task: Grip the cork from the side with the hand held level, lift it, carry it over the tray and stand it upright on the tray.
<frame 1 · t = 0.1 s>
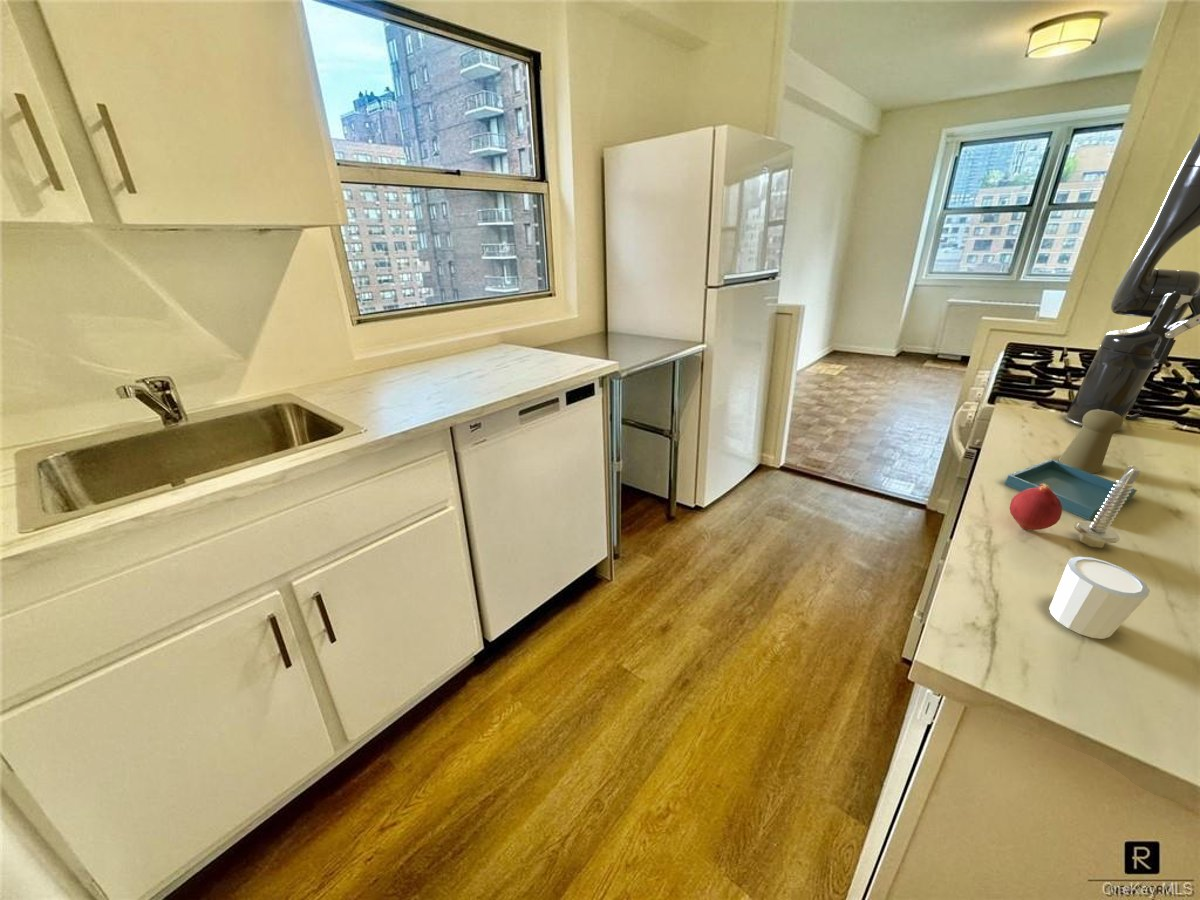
hand: (1197, 367, 74), 22 cm above the worktop, tool pointing down, fingers open, 8 cm apart
cork: (1078, 465, 93), on the worktop
onion: (1024, 530, 74), on the worktop
screw: (1089, 543, 71), on the worktop
tray: (1066, 491, 84), on the worktop
white faceted cylinder: (1078, 621, 58), on the worktop
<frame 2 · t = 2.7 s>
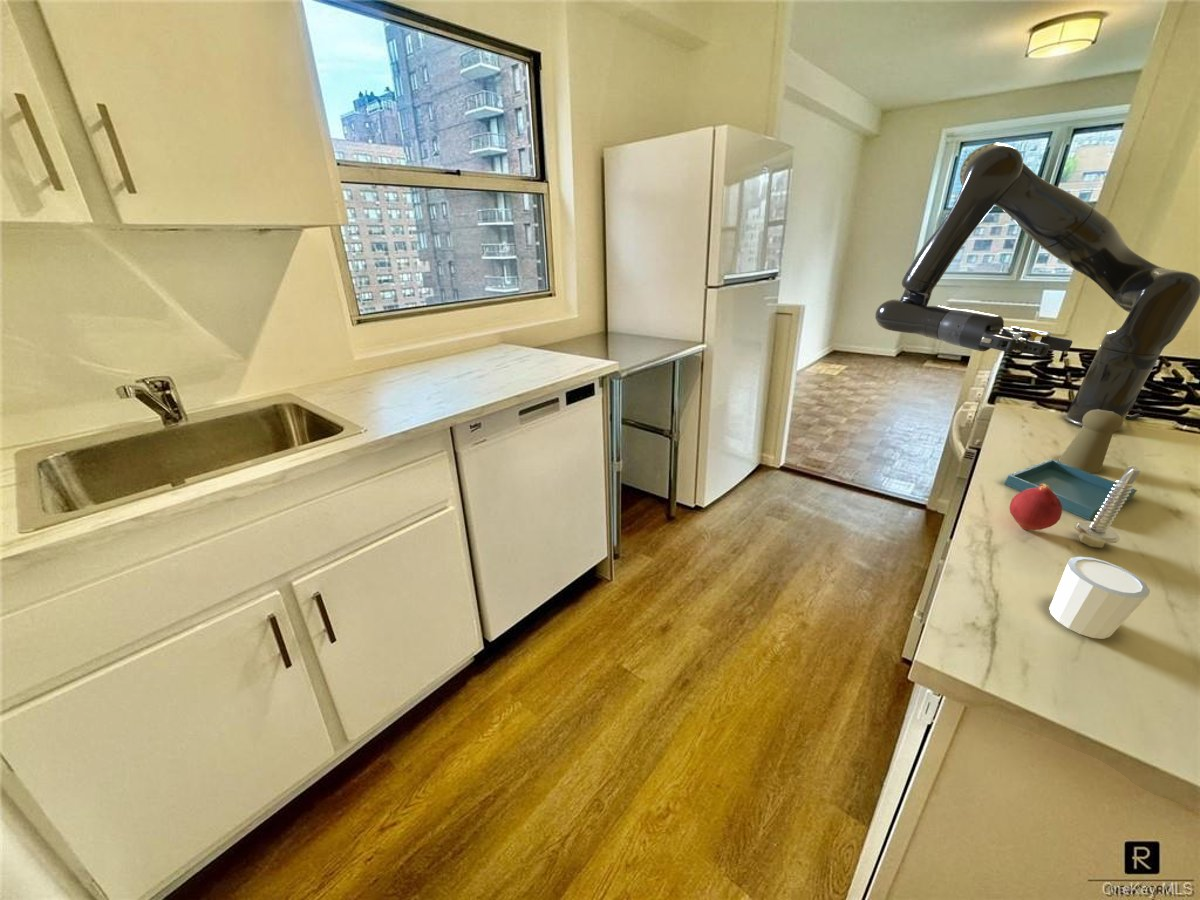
hand: (1058, 348, 92), 20 cm above the worktop, tool horizontal, fingers open, 8 cm apart
nothing on the worktop moved.
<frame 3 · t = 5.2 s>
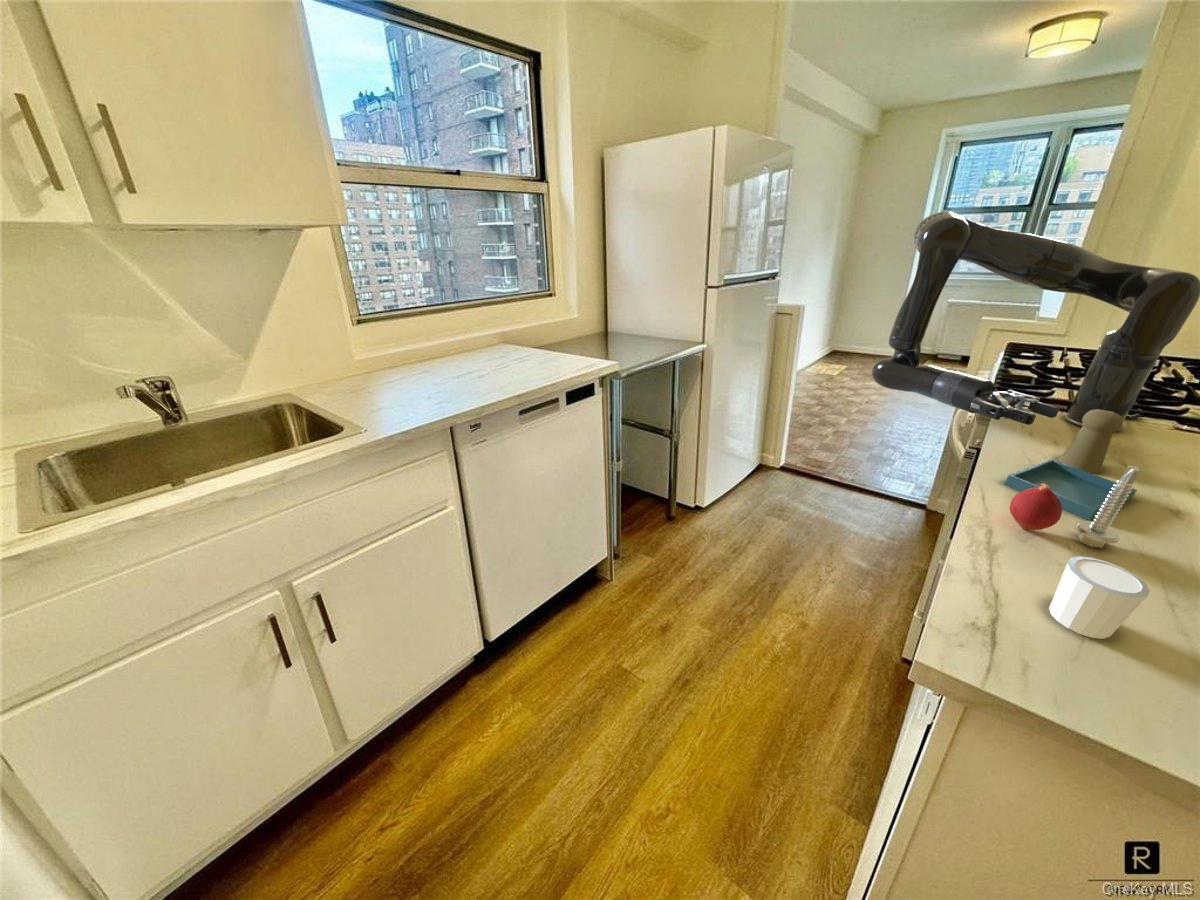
hand: (1045, 416, 96), 7 cm above the worktop, tool horizontal, fingers open, 8 cm apart
nothing on the worktop moved.
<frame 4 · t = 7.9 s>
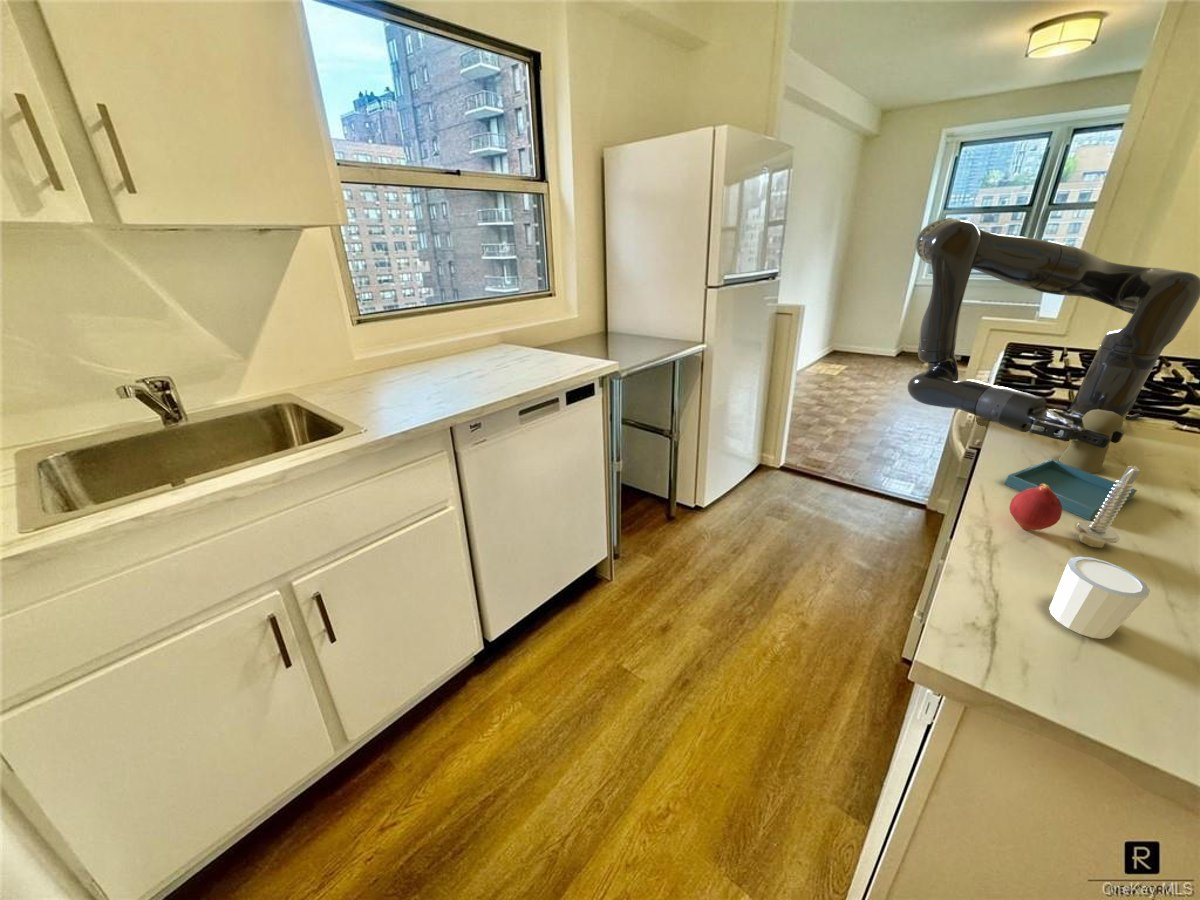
hand: (1114, 440, 87), 6 cm above the worktop, tool horizontal, fingers closed on cork, 4 cm apart
cork: (1078, 465, 93), on the worktop, touching gripper
everything else where it was.
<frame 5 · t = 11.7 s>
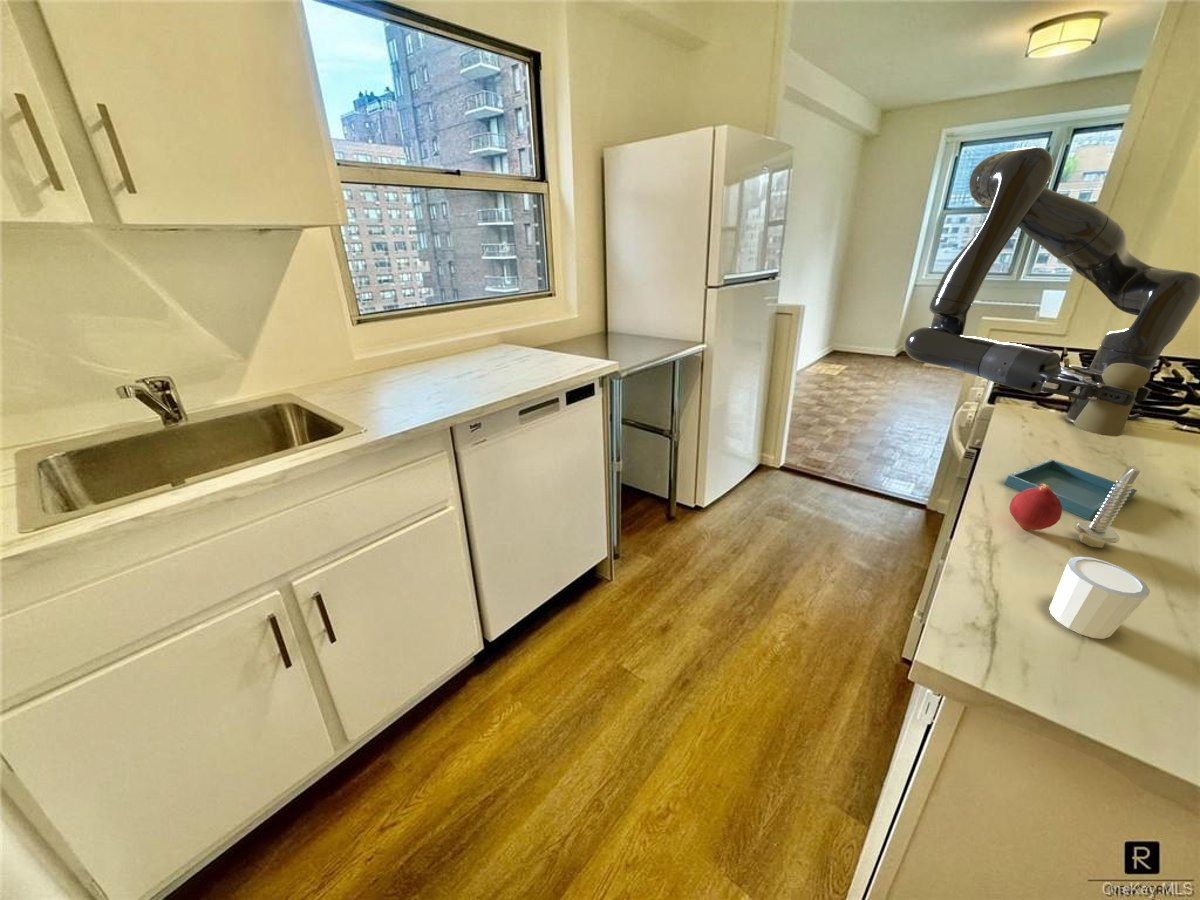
hand: (1139, 397, 76), 18 cm above the worktop, tool horizontal, fingers closed on cork, 4 cm apart
cork: (1096, 429, 81), point 11 cm above the worktop, touching gripper
everything else where it was.
when the fingers open (7 cm above the worktop, at t = 15.3 s): cork stays where it is, resting on tray.
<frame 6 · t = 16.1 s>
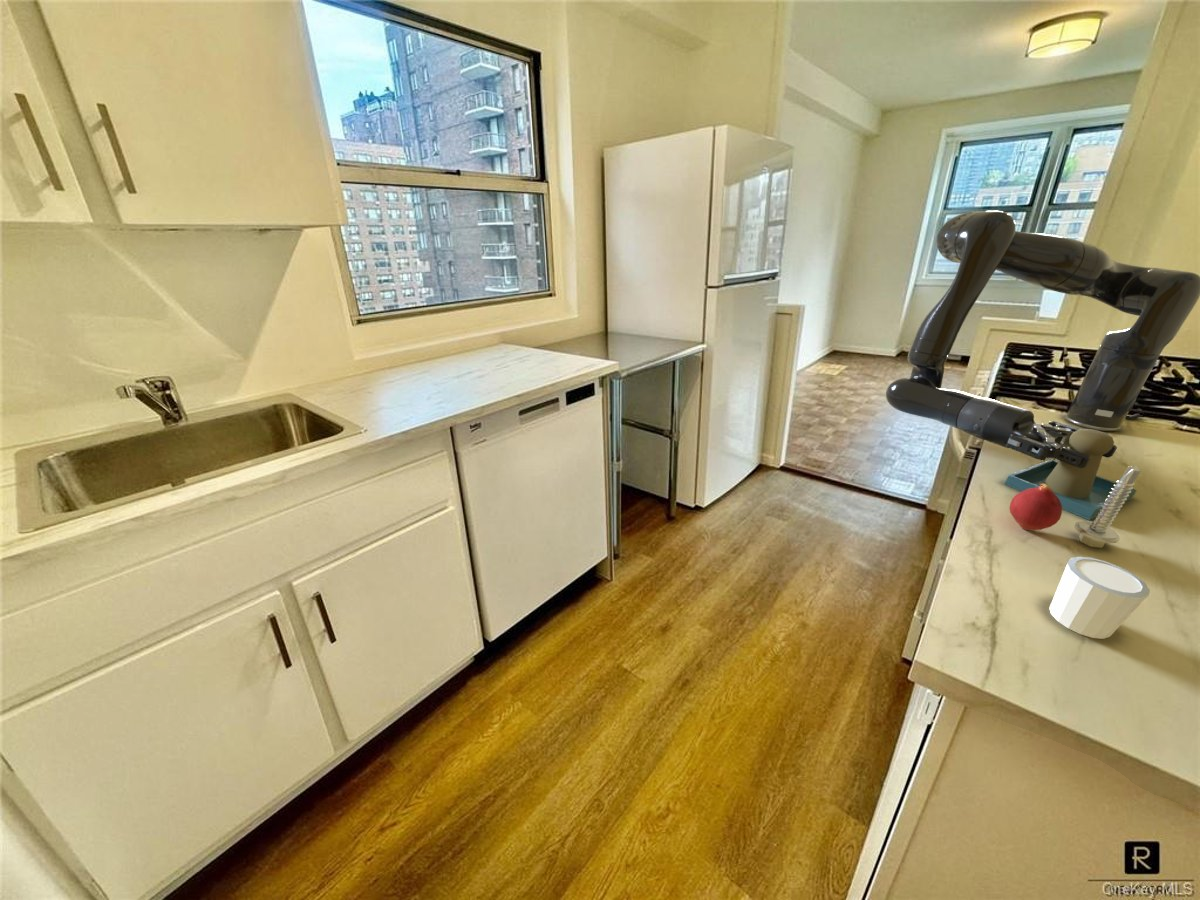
hand: (1101, 457, 79), 8 cm above the worktop, tool horizontal, fingers open, 8 cm apart
cork: (1065, 490, 84), resting on tray
everything else where it was.
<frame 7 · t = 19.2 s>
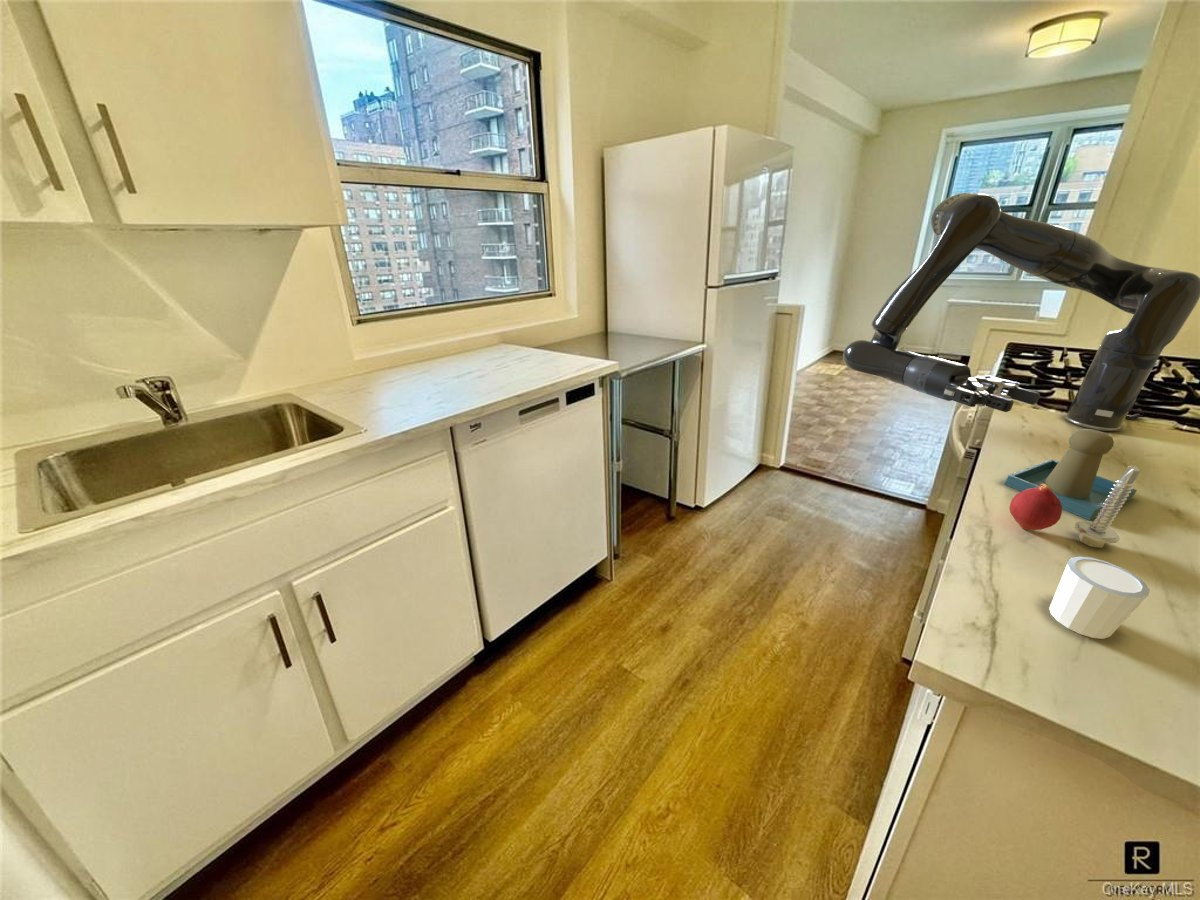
hand: (1024, 403, 87), 13 cm above the worktop, tool horizontal, fingers open, 8 cm apart
nothing on the worktop moved.
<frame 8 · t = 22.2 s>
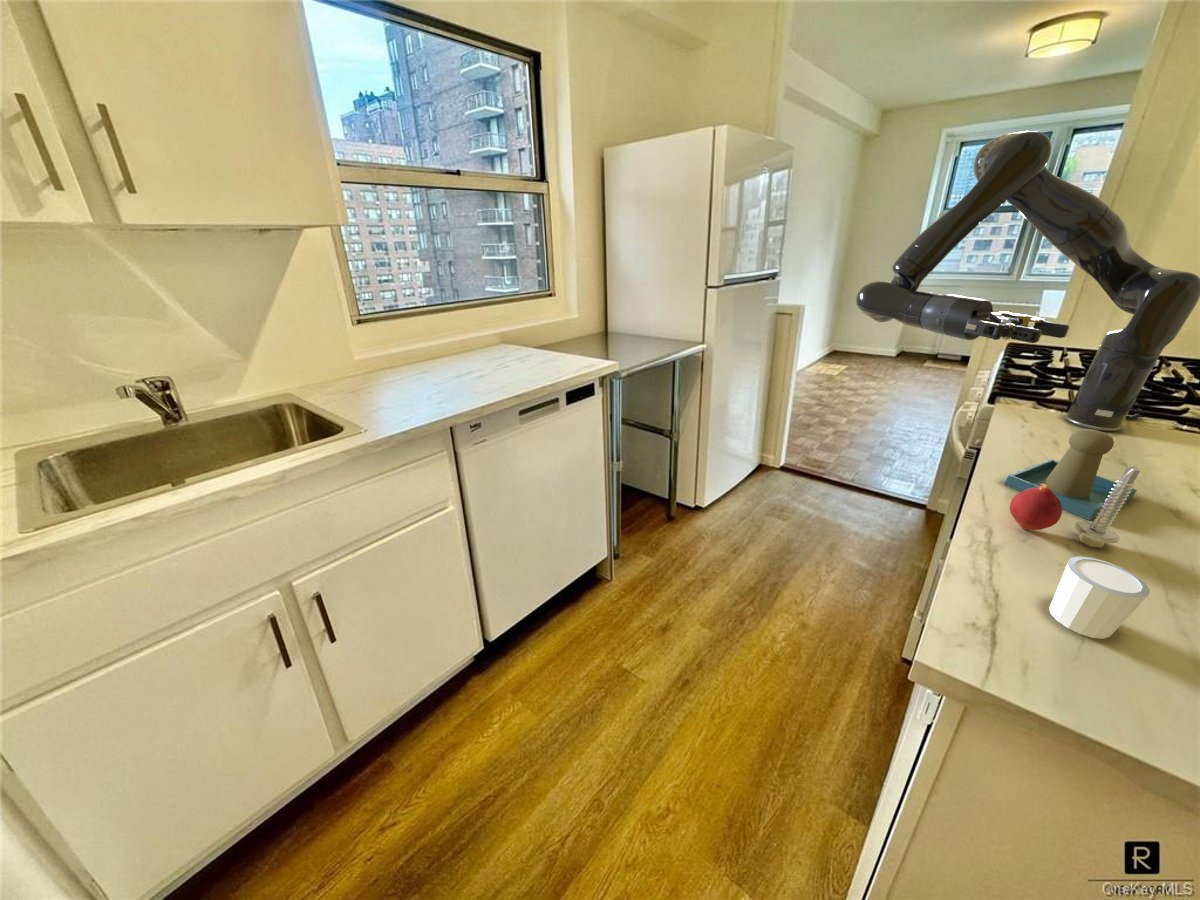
hand: (1053, 334, 81), 25 cm above the worktop, tool horizontal, fingers open, 8 cm apart
nothing on the worktop moved.
at the end: cork inside the target area in the tray (0.1 cm from its centre), point 0.2 cm above the tray's base; cork tilted 0°; the gripper is holding nothing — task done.
